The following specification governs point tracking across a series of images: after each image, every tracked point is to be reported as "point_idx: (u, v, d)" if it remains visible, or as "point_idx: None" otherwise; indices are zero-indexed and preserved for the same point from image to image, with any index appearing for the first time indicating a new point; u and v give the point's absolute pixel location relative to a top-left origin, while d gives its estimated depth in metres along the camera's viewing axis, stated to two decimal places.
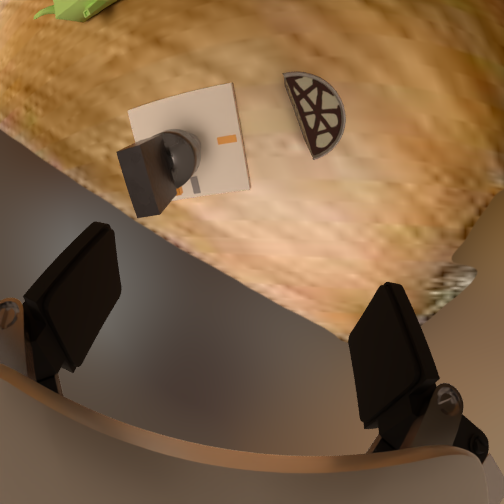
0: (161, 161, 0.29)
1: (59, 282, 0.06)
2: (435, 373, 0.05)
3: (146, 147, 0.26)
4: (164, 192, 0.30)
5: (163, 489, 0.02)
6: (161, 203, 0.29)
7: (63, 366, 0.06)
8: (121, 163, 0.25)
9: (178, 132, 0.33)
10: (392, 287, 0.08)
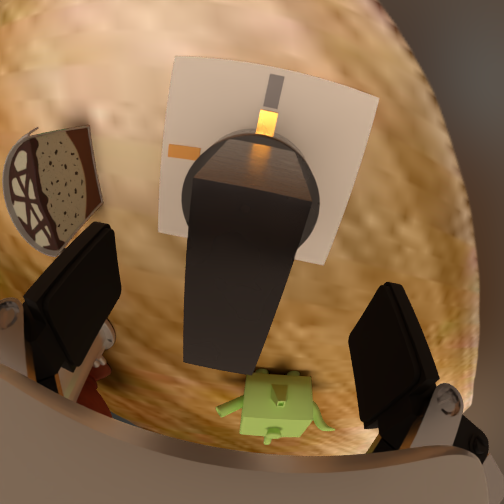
0: None
1: (59, 282, 0.06)
2: (435, 374, 0.05)
3: None
4: None
5: (163, 489, 0.02)
6: None
7: (63, 366, 0.06)
8: (253, 358, 0.10)
9: None
10: (392, 287, 0.08)
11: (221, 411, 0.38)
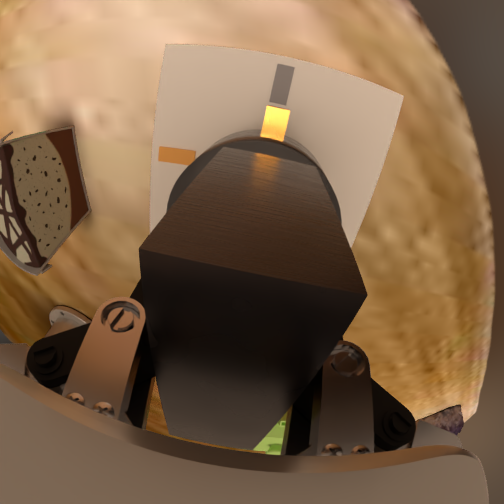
0: None
1: None
2: None
3: None
4: None
5: (163, 489, 0.02)
6: None
7: None
8: (254, 440, 0.07)
9: None
10: None
11: None
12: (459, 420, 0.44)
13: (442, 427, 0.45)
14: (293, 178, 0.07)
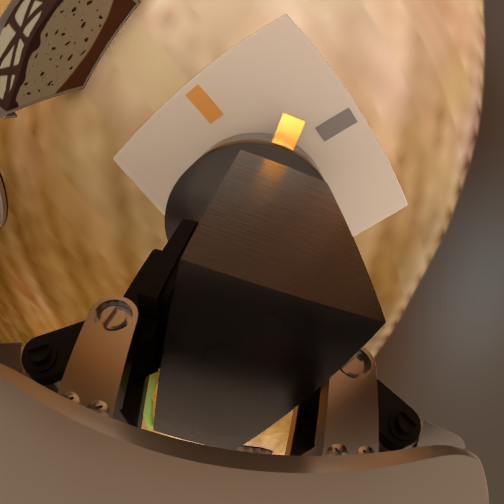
0: None
1: (173, 277, 0.07)
2: None
3: None
4: None
5: (163, 489, 0.02)
6: None
7: None
8: (239, 442, 0.07)
9: None
10: None
11: None
12: None
13: None
14: (310, 194, 0.07)
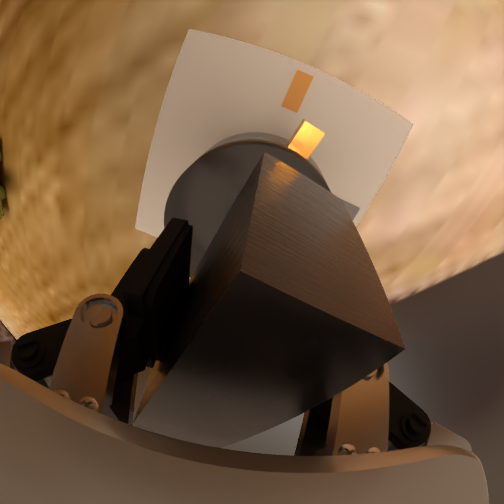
0: (185, 296, 0.09)
1: (159, 276, 0.07)
2: None
3: (146, 388, 0.08)
4: (223, 242, 0.06)
5: (163, 489, 0.02)
6: (224, 263, 0.04)
7: None
8: (222, 443, 0.07)
9: None
10: None
11: None
12: None
13: None
14: (332, 211, 0.07)
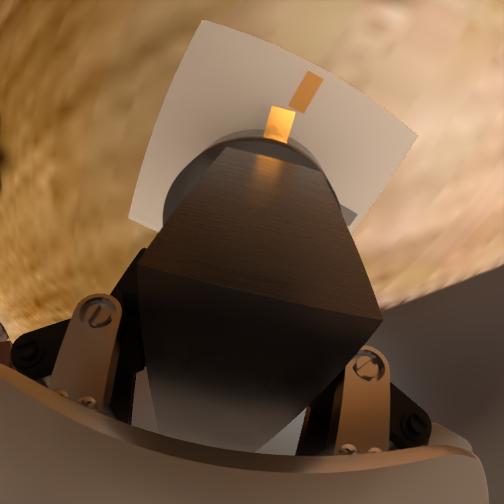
0: None
1: None
2: None
3: None
4: None
5: (163, 489, 0.02)
6: None
7: None
8: (248, 450, 0.07)
9: None
10: None
11: None
12: None
13: None
14: (300, 184, 0.06)
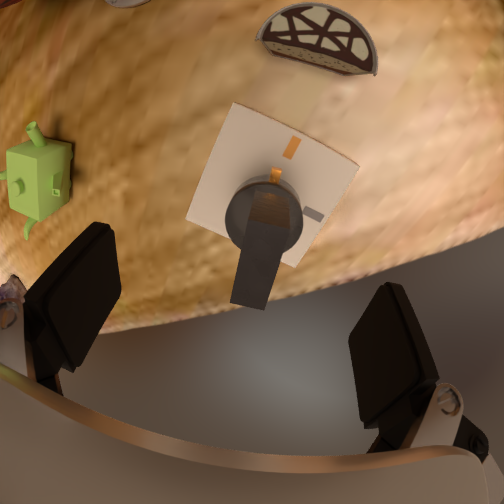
0: None
1: (59, 282, 0.06)
2: (435, 373, 0.05)
3: None
4: None
5: (163, 489, 0.02)
6: None
7: (63, 366, 0.06)
8: (265, 298, 0.22)
9: None
10: (392, 287, 0.08)
11: (33, 130, 0.26)
12: None
13: None
14: (279, 204, 0.22)
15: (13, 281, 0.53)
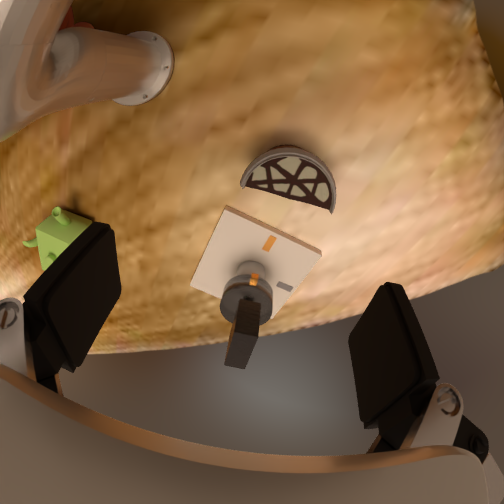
0: (231, 331, 0.38)
1: (59, 282, 0.06)
2: (435, 373, 0.05)
3: (226, 355, 0.37)
4: (234, 323, 0.35)
5: (163, 489, 0.02)
6: (233, 329, 0.33)
7: (63, 366, 0.06)
8: (245, 364, 0.36)
9: None
10: (392, 287, 0.08)
11: (59, 216, 0.38)
12: None
13: None
14: (254, 311, 0.35)
15: None
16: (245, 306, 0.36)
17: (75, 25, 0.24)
